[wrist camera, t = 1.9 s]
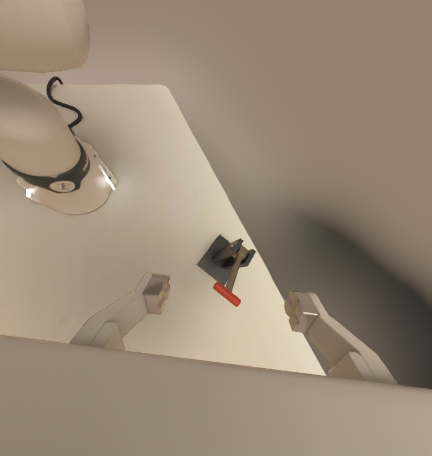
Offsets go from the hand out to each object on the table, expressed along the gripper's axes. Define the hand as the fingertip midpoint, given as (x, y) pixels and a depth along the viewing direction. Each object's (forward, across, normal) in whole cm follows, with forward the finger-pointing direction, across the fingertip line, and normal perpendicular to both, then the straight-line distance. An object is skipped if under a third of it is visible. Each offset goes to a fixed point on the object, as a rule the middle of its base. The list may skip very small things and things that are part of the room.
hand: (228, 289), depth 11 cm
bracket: (+32, -1, +24) cm, 39 cm away
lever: (+18, -3, +16) cm, 24 cm away
